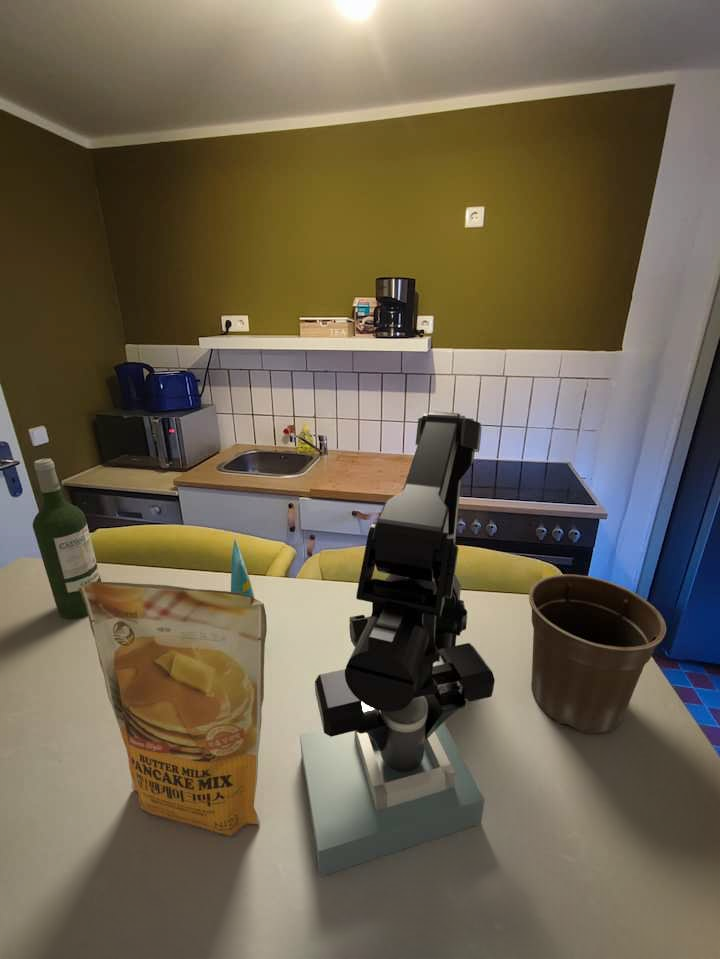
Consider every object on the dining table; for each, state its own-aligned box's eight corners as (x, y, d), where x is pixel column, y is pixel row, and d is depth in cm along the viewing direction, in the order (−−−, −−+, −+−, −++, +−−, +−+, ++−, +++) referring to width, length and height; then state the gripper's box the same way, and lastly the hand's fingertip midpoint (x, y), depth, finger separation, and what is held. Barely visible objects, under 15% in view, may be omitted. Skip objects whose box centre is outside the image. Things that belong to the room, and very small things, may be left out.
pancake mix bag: (148, 752, 55) (102, 564, 46) (286, 788, 51) (268, 588, 41) (108, 807, 49) (45, 602, 39) (261, 852, 45) (232, 634, 35)
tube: (267, 655, 71) (257, 555, 64) (237, 665, 69) (224, 562, 62) (256, 628, 77) (246, 534, 71) (228, 636, 75) (216, 540, 69)
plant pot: (493, 674, 67) (504, 586, 62) (570, 646, 73) (587, 564, 67) (577, 767, 53) (601, 665, 48) (665, 724, 59) (696, 628, 53)
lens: (414, 726, 52) (416, 681, 50) (432, 765, 48) (435, 718, 45) (373, 736, 51) (374, 691, 49) (388, 778, 46) (389, 730, 44)
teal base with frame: (431, 724, 59) (434, 690, 57) (480, 823, 47) (486, 786, 45) (301, 757, 54) (299, 722, 52) (319, 877, 43) (317, 838, 41)
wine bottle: (90, 619, 80) (49, 468, 70) (48, 619, 80) (2, 468, 70) (113, 594, 87) (80, 454, 77) (75, 594, 88) (36, 454, 77)
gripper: (453, 574, 53) (445, 672, 59) (303, 598, 49) (310, 702, 54) (504, 633, 43) (489, 744, 48) (322, 671, 38) (327, 790, 44)
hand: (402, 741), depth 49 cm, fingers closed on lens, 5 cm apart
